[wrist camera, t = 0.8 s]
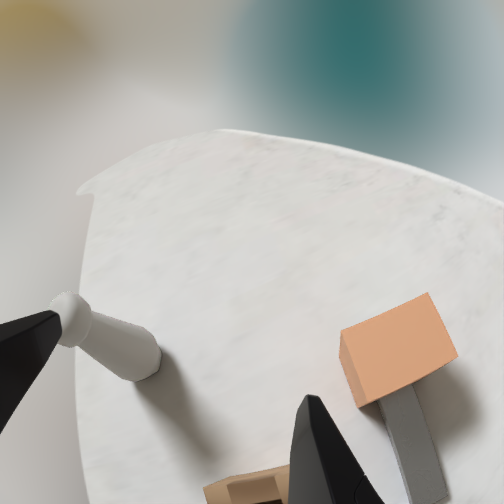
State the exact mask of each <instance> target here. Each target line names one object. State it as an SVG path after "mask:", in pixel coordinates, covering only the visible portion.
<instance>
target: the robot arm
mask: <svg viewBox="0 0 504 504" xmlns="http://www.w3.org/2000/svg"><path fill="white" fill-rule="evenodd" d="M61 336H62V325H61V319H60V315H59V314H58V313H57V312H55V311H53V310H47V311H43V312H40V313H37V314H34V315H30V316H27V317H24V318H20V319H17V320H13V321H10V322H7V323H3V324H0V434H1V432H2V431H3V429H4V427H5V425H6V424H7V422H8V420H9V419H10V417H11V416H12V414H13V412H14V411H15V409H16V407H17V406H18V404H19V403H20V401H21V400H22V398H23V397H24V395H25V394H26V392H27V391H28V389H29V388H30V386H31V385H32V383H33V382H34V380H35V379H36V377H37V376H38V374H39V373H40V371H41V370H42V368H43V367H44V365H45V364H46V362H47V360H48V359H49V357H50V355H51V353H52V351H53V350H54V348H55V346H56V344H57V343H58V341H59V339H60V338H61ZM364 474H365V473H364V472H363V470H362V468H361V467H360V465H359V463H358V462H357V460H356V458H355V457H354V455H353V453H352V452H351V450H350V448H349V446H348V445H347V443H346V441H345V440H344V438H343V436H342V435H341V433H340V431H339V430H338V428H337V426H336V424H335V423H334V421H333V419H332V418H331V416H330V414H329V413H328V411H327V409H326V407H325V406H324V404H323V402H322V401H321V399H320V397H319V396H315V395H309V394H308V395H306V396H305V397H304V399H303V401H302V403H301V405H300V406H299V408H298V410H297V414H296V420H295V427H294V433H293V439H292V445H291V452H290V469H289V490H288V504H385V503H384V502H383V501H382V499H381V498H380V497H379V495H378V494H377V492H376V491H375V489H374V488H373V486H372V485H371V483H370V481H369V480H368V478H367V476H366V475H364Z"/></svg>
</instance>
